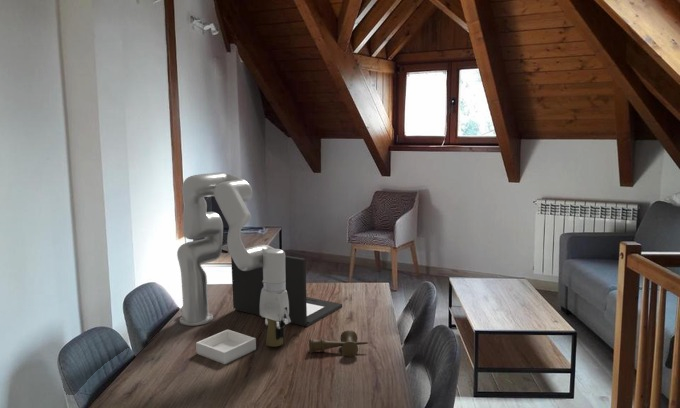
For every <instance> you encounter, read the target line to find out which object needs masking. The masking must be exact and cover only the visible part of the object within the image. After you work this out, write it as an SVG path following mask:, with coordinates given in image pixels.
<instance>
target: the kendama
mask: <svg viewBox="0 0 680 408" xmlns="http://www.w3.org/2000/svg"><path fill="white" fill-rule="evenodd" d="M339 340H340V341H333V340H332V341H331V340H326V339H325V338H320V339H315V338H313V337H310V338H309V339H308V350H309V352H310V354H313V353H314V352H317V351H321V352H325V351H326V350H328V349H333V348H340V347H341V354H342V355H343V356H344V357H346V358H353V357H355V356H357V354H358V352H359V347H358V346H359V345H360V346H362V345H368V344H369V342H368V341H358V335H357V333H356V331H353V330H351V329H347V330H344V331H342V333H341V335H340V339H339Z"/></svg>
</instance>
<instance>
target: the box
mask: <svg viewBox="0 0 680 408" xmlns="http://www.w3.org/2000/svg"><path fill="white" fill-rule="evenodd" d="M195 346H196V347H195V348H196V354H197V355H200V356H201V357H204V358H207V359H209V360H212V361H215V362H217V363H220V364H223V365H227V364H229V363H231V362H234V361H235V360H237V359H239V358H241V357H243V356H245V355H248V354H250V353H252V352H254V351H256V350H257V338H256V337H253V336H250V335H247V334H244V333H240V332H238V331H233V330H231V329H225V330H223V331H221V332H218V333H215V334H213V335H211V336H208V337H206V338H203V339H202V340H199V341H197V342H196V343H195Z"/></svg>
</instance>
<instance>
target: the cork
mask: <svg viewBox="0 0 680 408" xmlns="http://www.w3.org/2000/svg"><path fill="white" fill-rule="evenodd" d="M267 321H268V330H267V329H266V338H265V339H266V340H265V341H266V342H265V344H266V346H269V347H279V346H282V345H283V344H284V337H283V338H279V340H277V339H276V328H277V322H276V321H274V320H271V319H267ZM280 324H281V321H280Z"/></svg>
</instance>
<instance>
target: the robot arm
mask: <svg viewBox="0 0 680 408" xmlns="http://www.w3.org/2000/svg"><path fill="white" fill-rule="evenodd" d="M181 192H182V198H183V199H182V200H183V214H182V215H183V217H182V232H183V233H182V235H183V237H185V238H186V239H188V240H192V241H187V242H185V243H183V244H182V245H179V247H178V249H177V253H176V257H177V260H178V264H179V269H180V278H181V279H180V280H181V291H182V292H181V294H182V307H181V308H179V310H178V311H179V312H180V313H182V316H180V318H179V323H180V324H181V325H184V326H189V327H191V326H193V327H194V326H201V325H205V324H208V323H210V322H212V320H213V319H214V316H213V314H212V313H210V312H209V298H208V297H209V296H208V280H207V279H208V277H207V272H206V271H205V270H204V268H203V267H202V265H204V264H208V263H211V262H214V261H217V260H218V259H220V257H221V254H222V250H223V249H222V248H223V239H224V238H223V237H224V223H223V220H222V217H221V216H220V214H219V213H217V212H215V211H207V209H208V204H207V201H206V199H205V198H208V197H214V199H215V201H216V203H217V206H218V207H219V209H220V210H221V213H222V215H223V218H224V219H225V221H226V223H227V225H228V231H227V238H226V242H227V243H226V245H227V249H228V253H229V254H230V258H231V257H232V259H233V261H234V263H235V264H236V266H237V267H238V268H239V269H240V270H242V271H250V270H253V269H257V268H260V267H263V281H262V283H263V288H262V290H261V295H260V315H261V318H262V319H263V320H264V322H265V323H264V324H265V326H266V331H267V330H268V321H267V319H271V320H274V321H276V322H277V328H276V339H277V340H279V338H283V339H284V334H285V333H284V328H285V326H286V325H288V324H291V323H290V322H291V320H290V317H289V301H288V294H287V290H286V271H285V256H286V252H285V251H284V250H283V249H280V248H274V247H272V246H270V245H268V244H257V245H256V246H255V245H254V246H251V247H247V248H246V247H245V245H244V243H243V241H242V237H241V232H242V228H244V227H245V226H247V224H249V223H250V222H251V219H252V214H251V212H250V210H249V208H248V207H247V204H246V202H249V201H250V200H252V197H253V189H252V186H251V184H250V182H249V183H248V181H247V180H245V179H243V178H241V177H238V176H237V175H234V174H231V173H228V172H223V171H222V172H212V173H211V172H209V173H199V174H193V175H190V176H188V177H186V179H184V181H183V183H182V187H181ZM260 315H259V316H260ZM284 319H285V320H284ZM280 322H281V324H280Z"/></svg>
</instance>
